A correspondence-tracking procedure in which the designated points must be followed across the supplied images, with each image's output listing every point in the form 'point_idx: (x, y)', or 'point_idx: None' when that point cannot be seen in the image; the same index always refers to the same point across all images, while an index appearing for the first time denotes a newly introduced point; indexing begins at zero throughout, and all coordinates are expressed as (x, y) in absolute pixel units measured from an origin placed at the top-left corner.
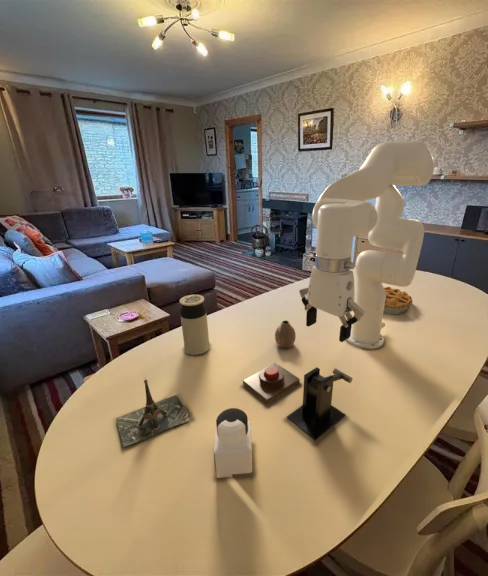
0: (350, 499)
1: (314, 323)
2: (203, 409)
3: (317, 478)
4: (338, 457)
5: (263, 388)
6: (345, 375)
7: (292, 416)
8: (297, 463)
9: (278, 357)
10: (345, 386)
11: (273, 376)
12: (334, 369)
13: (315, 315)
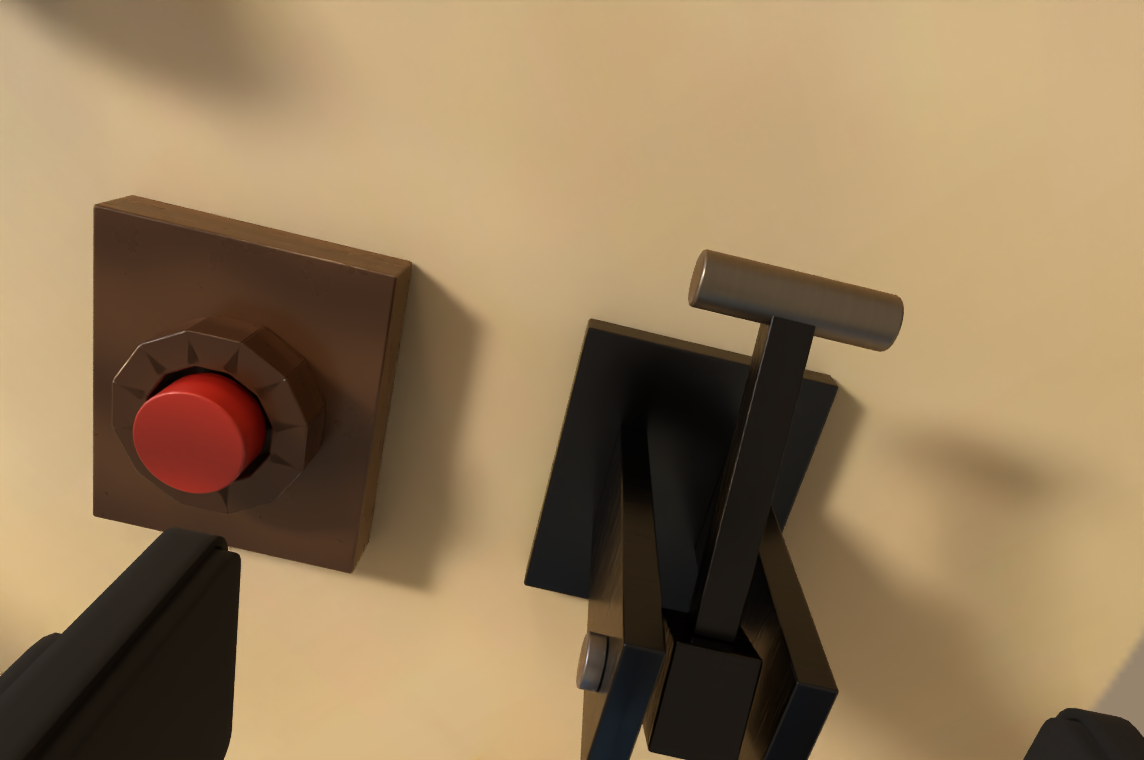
0: (975, 752)
1: (237, 594)
2: None
3: (818, 743)
4: (874, 620)
5: (259, 507)
6: (836, 322)
7: (551, 568)
8: None
9: (30, 29)
10: (732, 51)
11: (248, 464)
12: (702, 294)
13: (119, 738)
